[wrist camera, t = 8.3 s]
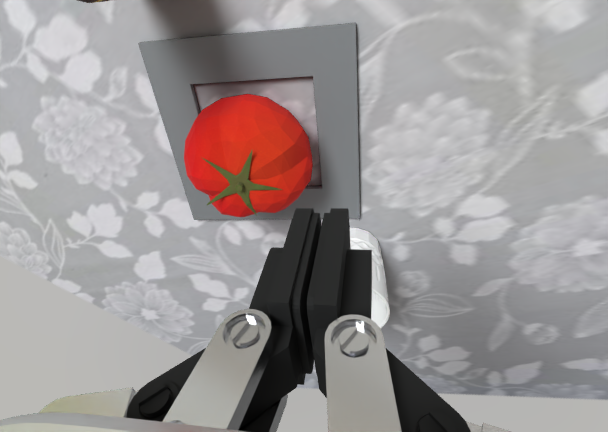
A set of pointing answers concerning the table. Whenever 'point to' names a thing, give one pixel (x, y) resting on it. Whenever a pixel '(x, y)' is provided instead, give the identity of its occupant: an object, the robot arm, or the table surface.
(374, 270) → the white cup
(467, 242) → the table surface
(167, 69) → the gray picture frame
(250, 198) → the tomato
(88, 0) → the sauce bottle
